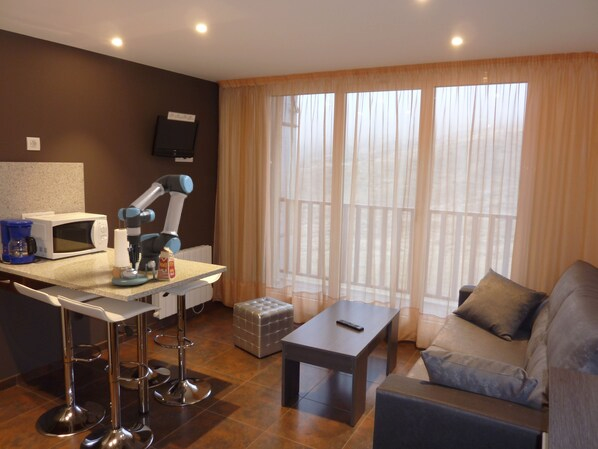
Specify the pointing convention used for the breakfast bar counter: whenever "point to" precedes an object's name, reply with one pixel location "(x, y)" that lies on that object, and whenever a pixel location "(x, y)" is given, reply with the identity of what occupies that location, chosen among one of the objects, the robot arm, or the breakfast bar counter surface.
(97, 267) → the breakfast bar counter surface
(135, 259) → the robot arm
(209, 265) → the breakfast bar counter surface
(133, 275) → the cover
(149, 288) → the breakfast bar counter surface
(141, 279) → the turntable
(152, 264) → the dial indicator
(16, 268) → the breakfast bar counter surface
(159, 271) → the milk carton
